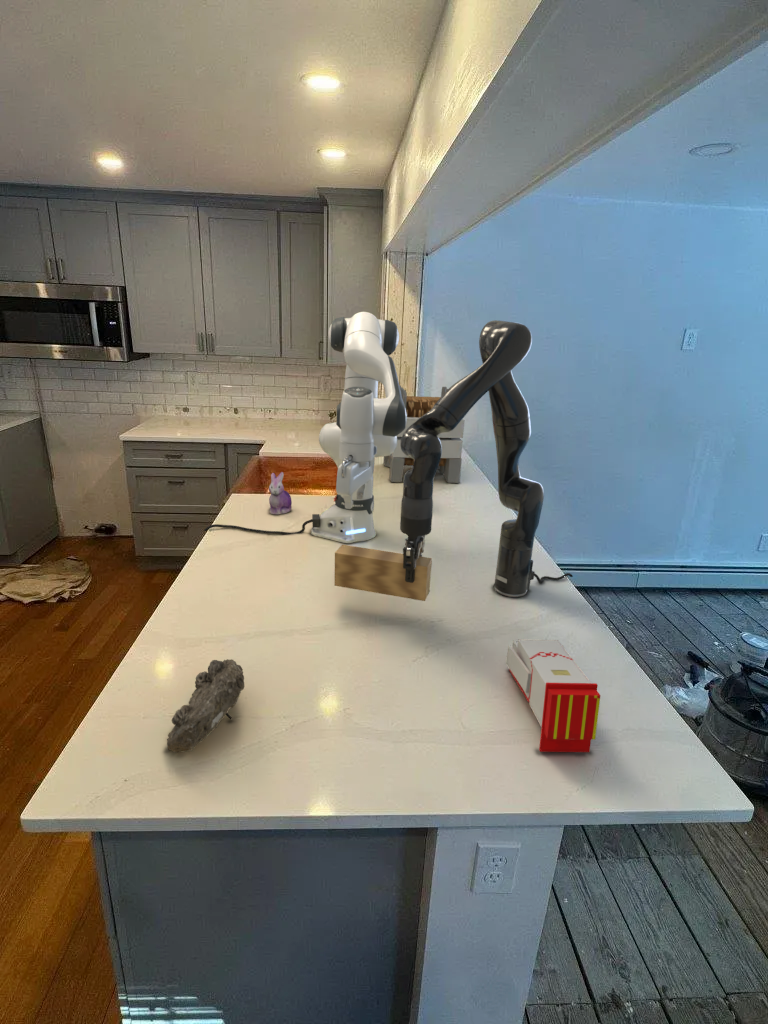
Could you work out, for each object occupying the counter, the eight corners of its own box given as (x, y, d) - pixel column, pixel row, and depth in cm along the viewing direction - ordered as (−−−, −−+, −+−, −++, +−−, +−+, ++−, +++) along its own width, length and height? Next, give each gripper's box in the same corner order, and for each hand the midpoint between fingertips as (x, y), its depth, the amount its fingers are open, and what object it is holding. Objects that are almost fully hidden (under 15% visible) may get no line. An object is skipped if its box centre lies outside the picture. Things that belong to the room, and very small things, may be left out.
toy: (554, 622, 128) (610, 691, 98) (548, 677, 130) (601, 759, 101) (501, 621, 127) (541, 690, 98) (496, 676, 130) (534, 758, 101)
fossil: (192, 660, 117) (244, 628, 112) (224, 691, 120) (276, 661, 115) (142, 746, 98) (202, 712, 93) (182, 779, 101) (242, 748, 96)
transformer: (382, 463, 289) (386, 382, 275) (445, 464, 293) (451, 384, 279) (390, 482, 257) (394, 392, 243) (460, 483, 261) (468, 394, 247)
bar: (334, 585, 145) (334, 552, 142) (341, 576, 150) (342, 544, 147) (425, 601, 139) (427, 567, 136) (429, 591, 144) (432, 558, 141)
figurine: (272, 516, 210) (271, 477, 205) (264, 508, 219) (263, 470, 213) (296, 513, 214) (296, 475, 209) (287, 505, 223) (287, 468, 218)
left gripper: (354, 461, 136) (353, 516, 140) (378, 446, 155) (376, 494, 159) (330, 458, 137) (329, 512, 142) (356, 443, 156) (355, 492, 161)
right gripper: (425, 525, 128) (421, 591, 134) (437, 505, 141) (433, 567, 147) (393, 520, 130) (390, 586, 135) (408, 501, 143) (404, 562, 149)
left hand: (354, 503), depth 151 cm, fingers open, 8 cm apart
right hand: (412, 576), depth 141 cm, fingers closed on bar, 5 cm apart
